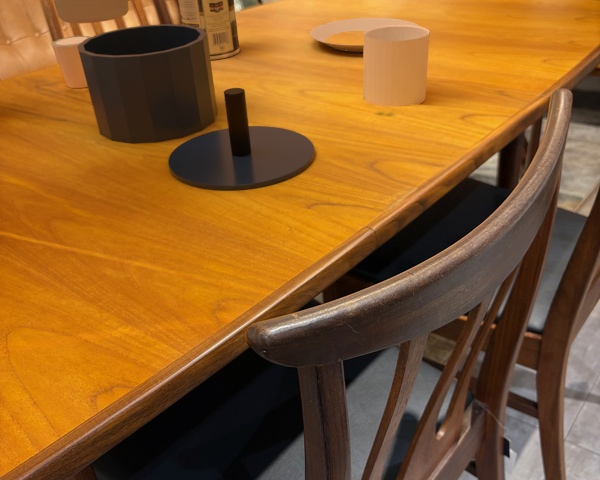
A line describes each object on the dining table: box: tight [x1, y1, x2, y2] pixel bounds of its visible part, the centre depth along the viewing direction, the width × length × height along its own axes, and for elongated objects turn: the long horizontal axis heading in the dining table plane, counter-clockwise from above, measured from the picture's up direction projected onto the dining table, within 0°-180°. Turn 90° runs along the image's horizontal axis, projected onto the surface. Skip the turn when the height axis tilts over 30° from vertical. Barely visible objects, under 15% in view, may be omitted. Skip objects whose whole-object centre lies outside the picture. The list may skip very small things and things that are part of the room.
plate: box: [309, 17, 420, 53], centre depth 116 cm, size 21×21×2 cm
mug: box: [362, 25, 430, 108], centre depth 89 cm, size 12×9×9 cm
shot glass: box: [50, 35, 91, 89], centre depth 104 cm, size 7×7×7 cm
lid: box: [167, 87, 316, 191], centre depth 73 cm, size 18×18×9 cm
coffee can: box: [177, 0, 241, 61], centre depth 113 cm, size 10×10×14 cm
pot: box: [77, 23, 219, 145], centre depth 84 cm, size 17×17×12 cm
